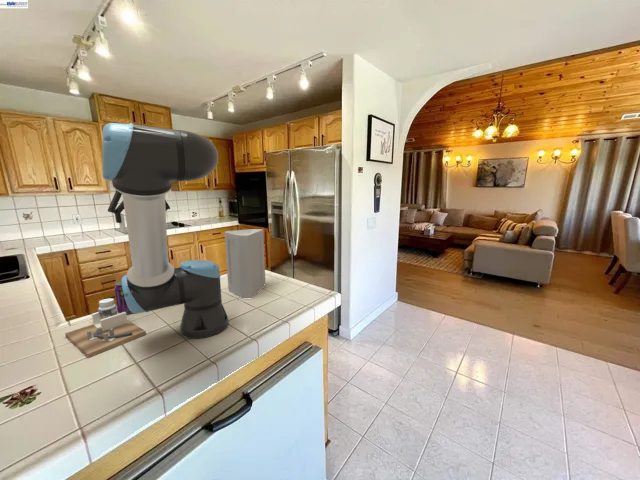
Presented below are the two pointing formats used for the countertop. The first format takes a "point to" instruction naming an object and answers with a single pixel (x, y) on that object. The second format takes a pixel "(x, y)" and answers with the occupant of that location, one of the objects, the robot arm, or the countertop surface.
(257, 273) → the grey triangular prism
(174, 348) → the countertop surface
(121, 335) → the cable
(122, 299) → the beverage can
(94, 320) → the end holder
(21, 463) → the countertop surface
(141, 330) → the board
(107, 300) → the pill bottle
